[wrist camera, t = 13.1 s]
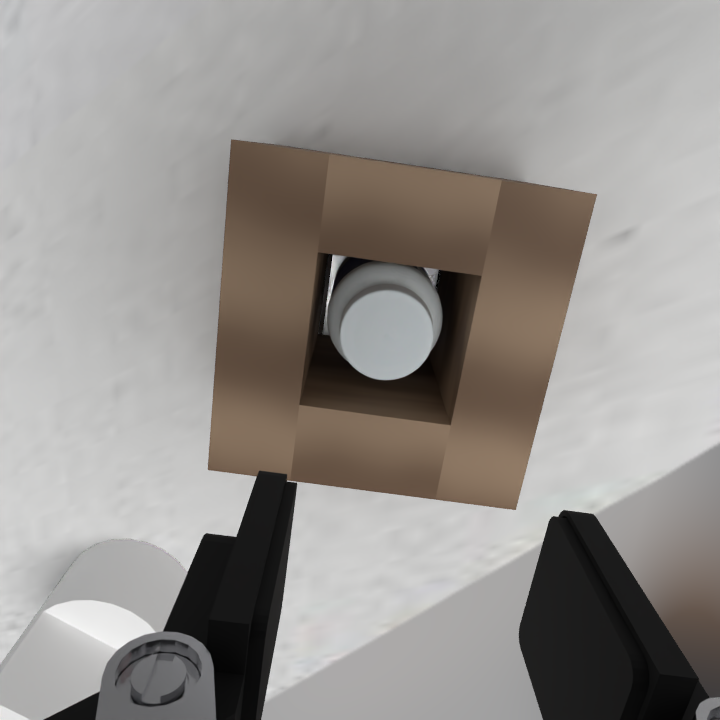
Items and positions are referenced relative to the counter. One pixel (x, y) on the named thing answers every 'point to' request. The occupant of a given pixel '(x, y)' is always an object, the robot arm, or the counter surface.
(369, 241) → the socket block
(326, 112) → the counter surface
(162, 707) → the robot arm
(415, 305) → the pill bottle
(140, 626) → the cylinder with rectangular tab
